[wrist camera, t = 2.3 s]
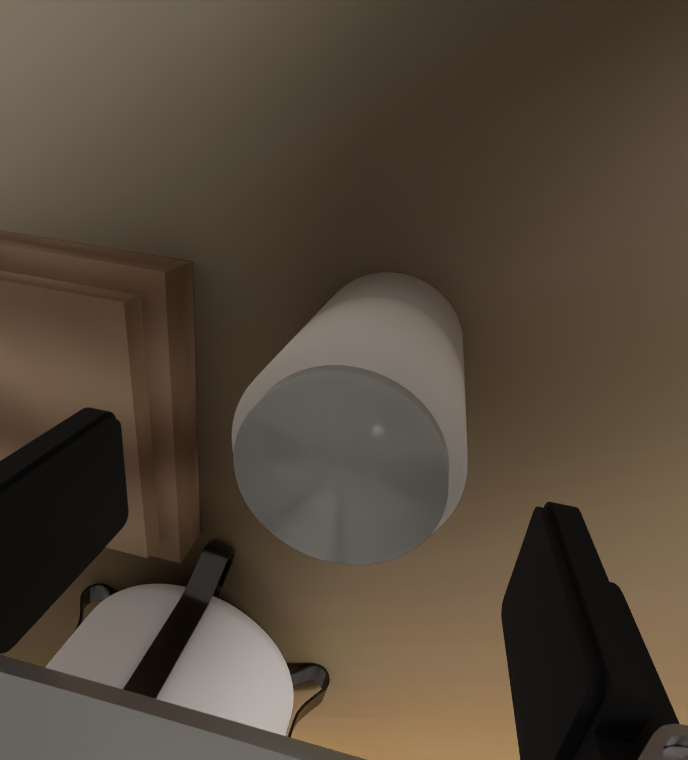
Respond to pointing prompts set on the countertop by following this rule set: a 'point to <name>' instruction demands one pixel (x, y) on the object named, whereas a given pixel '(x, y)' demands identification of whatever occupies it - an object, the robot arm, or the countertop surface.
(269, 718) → the coffee press
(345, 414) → the canister
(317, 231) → the countertop surface
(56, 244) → the plinth
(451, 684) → the countertop surface
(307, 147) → the countertop surface
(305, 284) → the countertop surface
